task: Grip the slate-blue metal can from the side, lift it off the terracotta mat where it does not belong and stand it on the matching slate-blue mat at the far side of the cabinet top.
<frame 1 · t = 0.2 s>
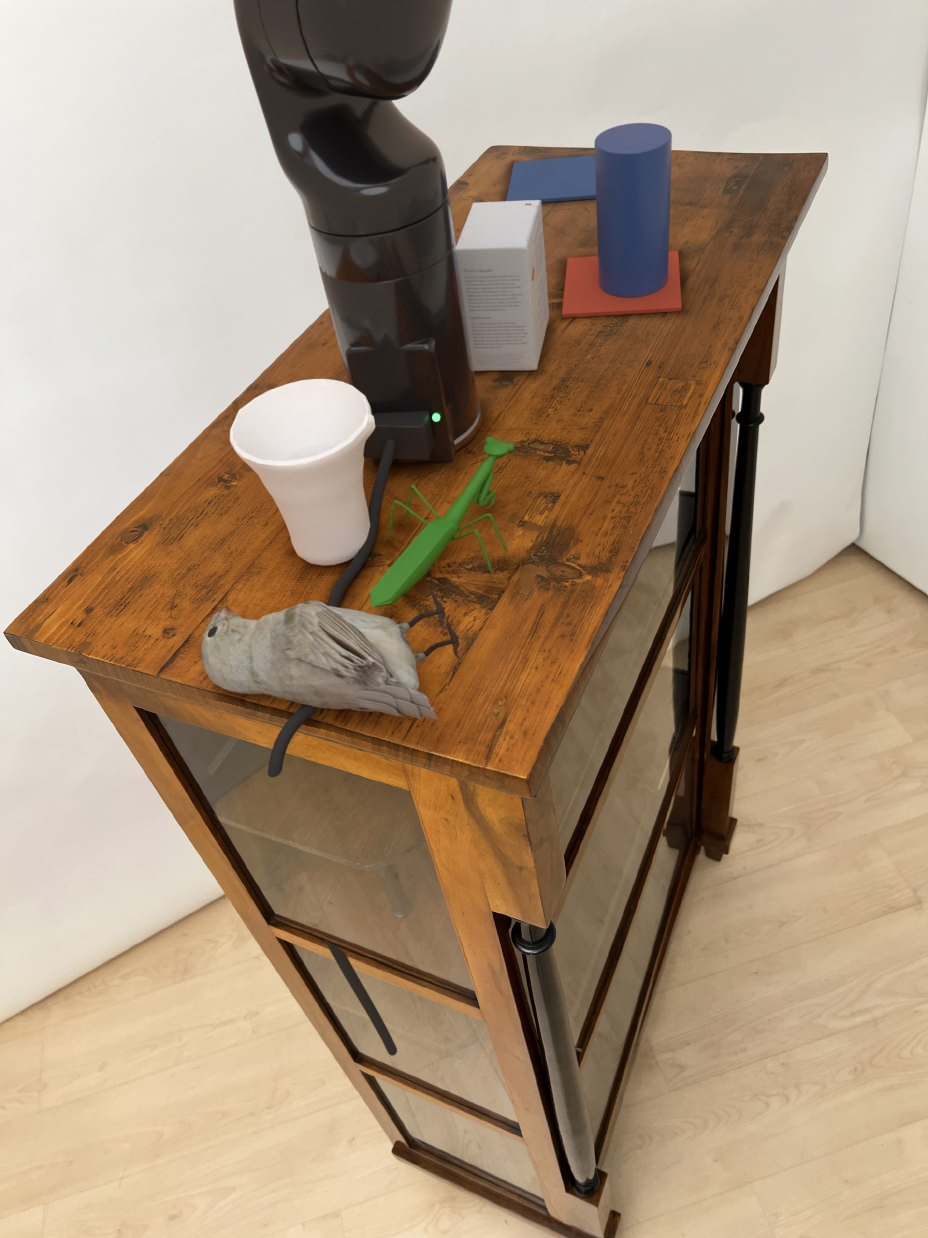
small box: (511, 347, 79), on the cabinet
decorative bird: (451, 614, 53), point 4 cm above the cabinet
praying mantis: (446, 557, 62), on the cabinet
cup: (338, 538, 65), on the cabinet
blue mat: (557, 180, 100), on the cabinet
blue can: (633, 280, 83), resting on terracotta mat
terracotta mat: (621, 285, 83), on the cabinet
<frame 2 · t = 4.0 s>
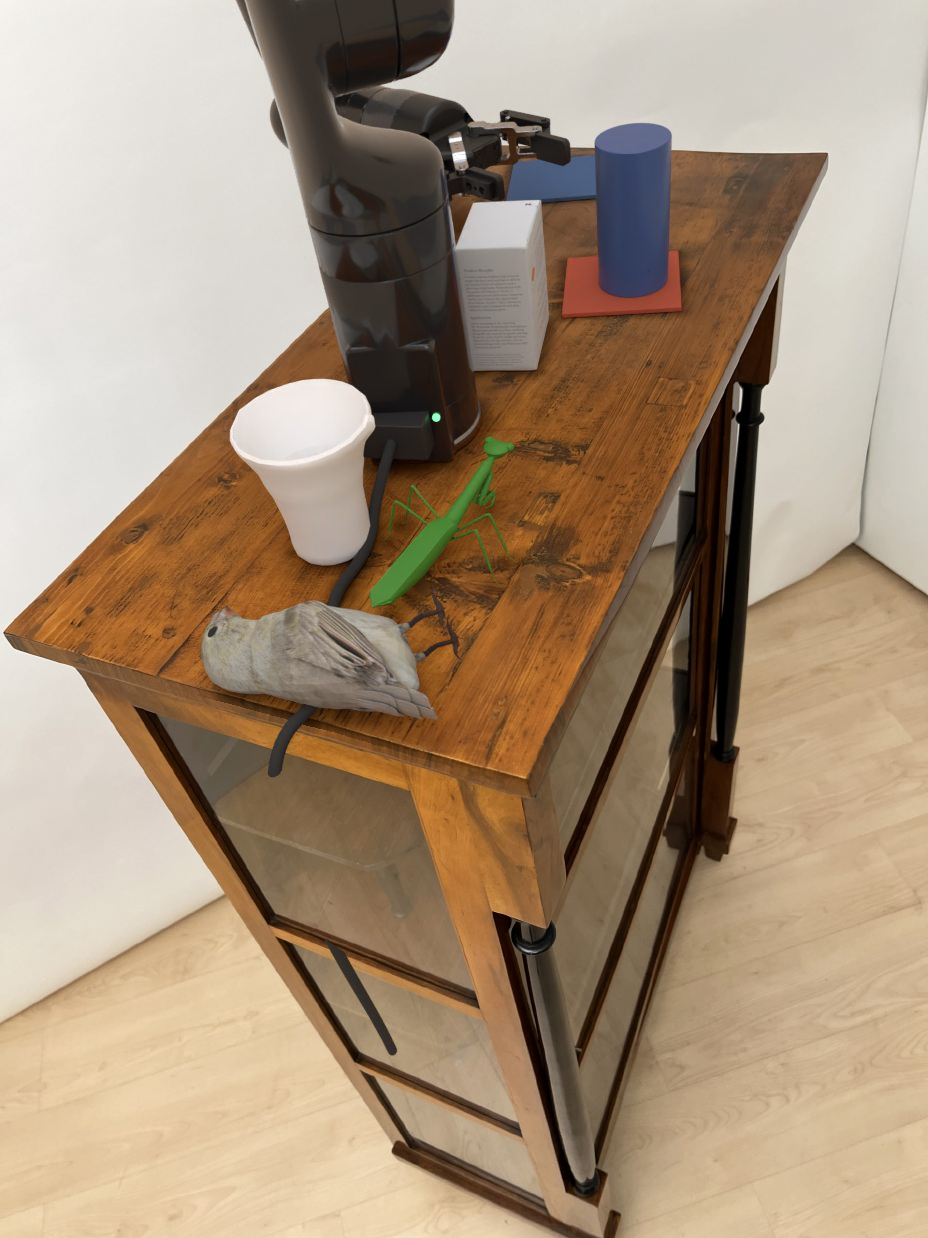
hand: (535, 170, 84), 8 cm above the cabinet, tool horizontal, fingers open, 8 cm apart
nothing on the cabinet moved.
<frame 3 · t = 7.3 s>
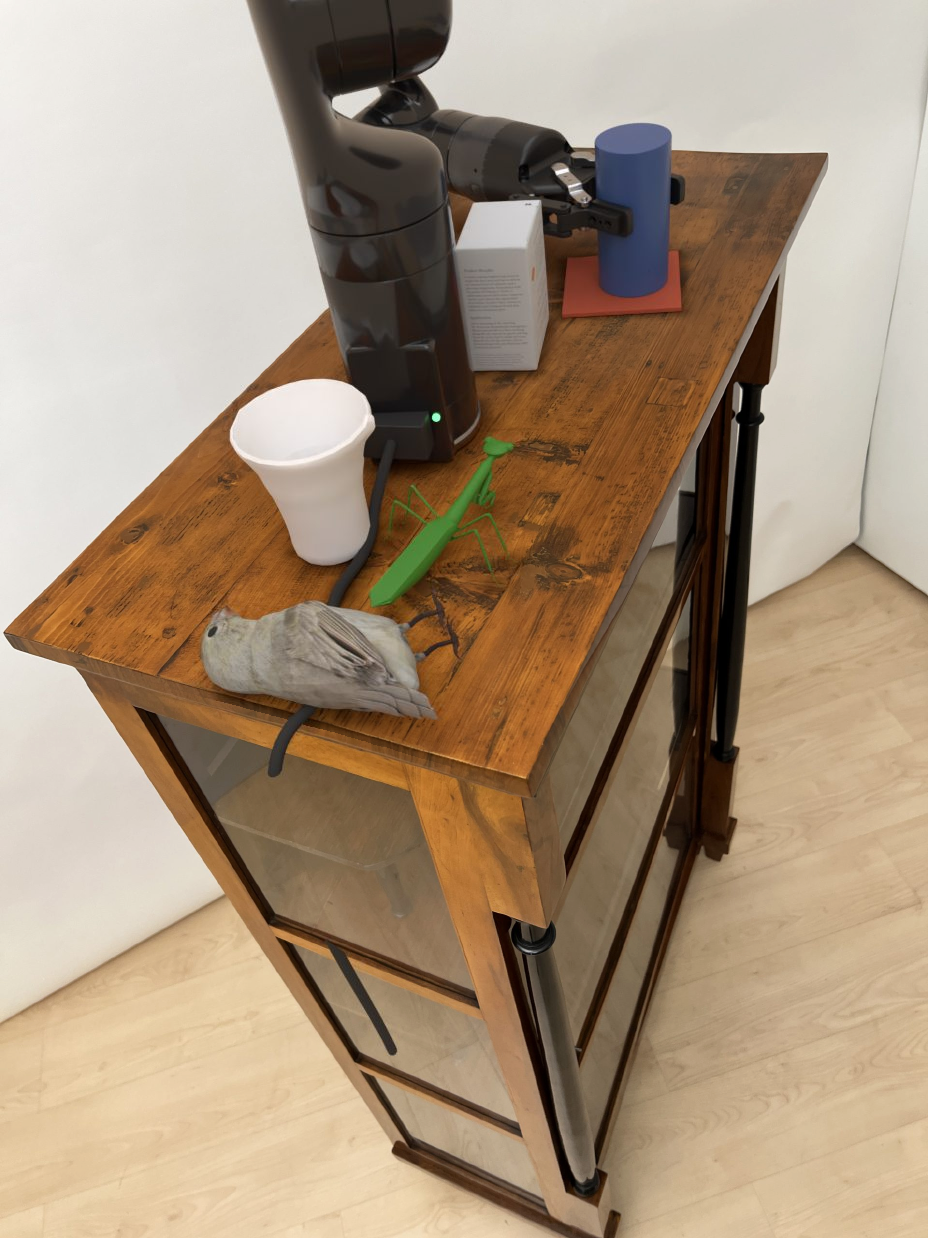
hand: (656, 206, 77), 7 cm above the cabinet, tool horizontal, fingers closed on blue can, 6 cm apart
blue can: (633, 280, 83), resting on terracotta mat, touching gripper
everything else where it was.
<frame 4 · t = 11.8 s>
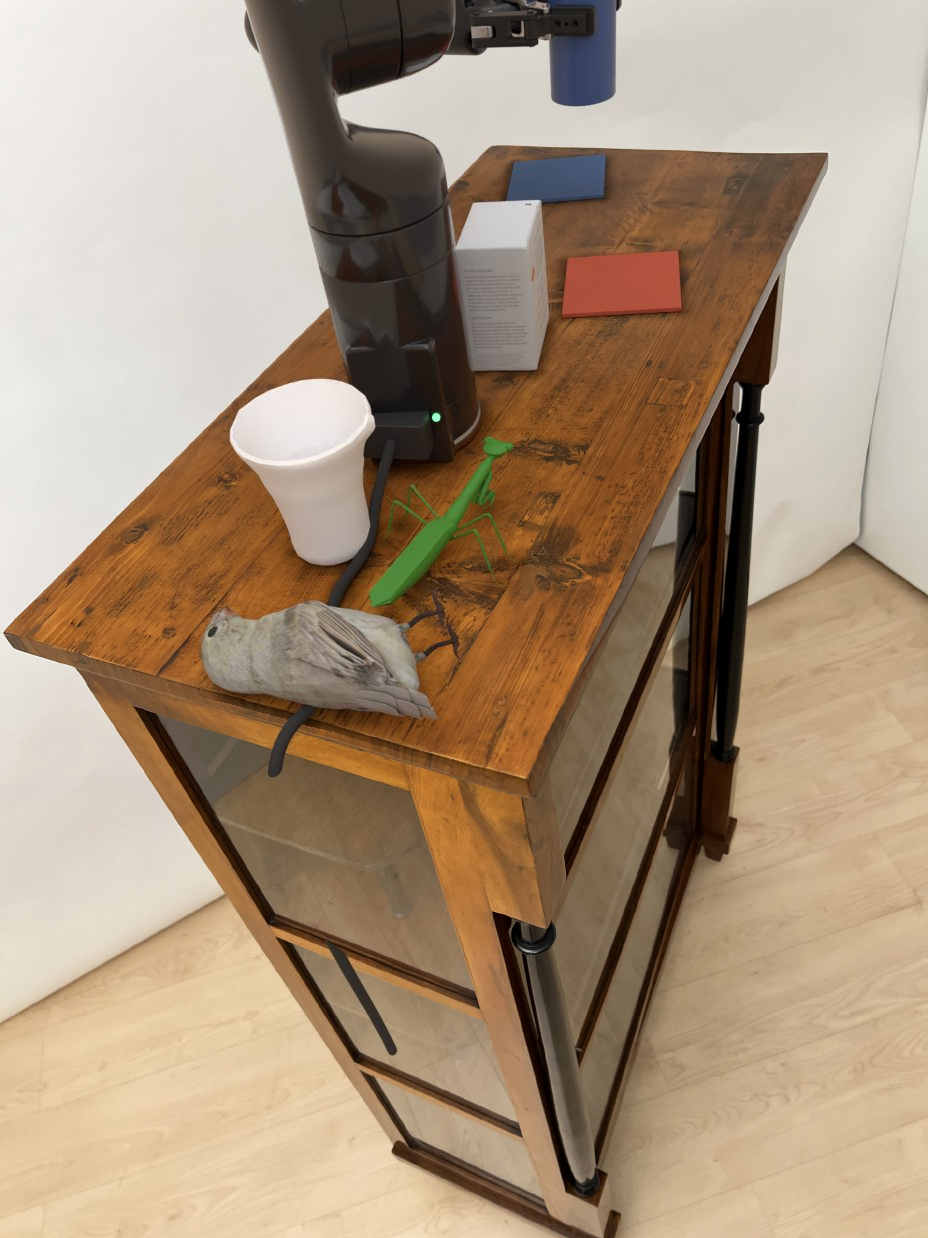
hand: (607, 8, 83), 17 cm above the cabinet, tool horizontal, fingers closed on blue can, 6 cm apart
blue can: (583, 94, 88), point 10 cm above the cabinet, touching gripper
everything else where it was.
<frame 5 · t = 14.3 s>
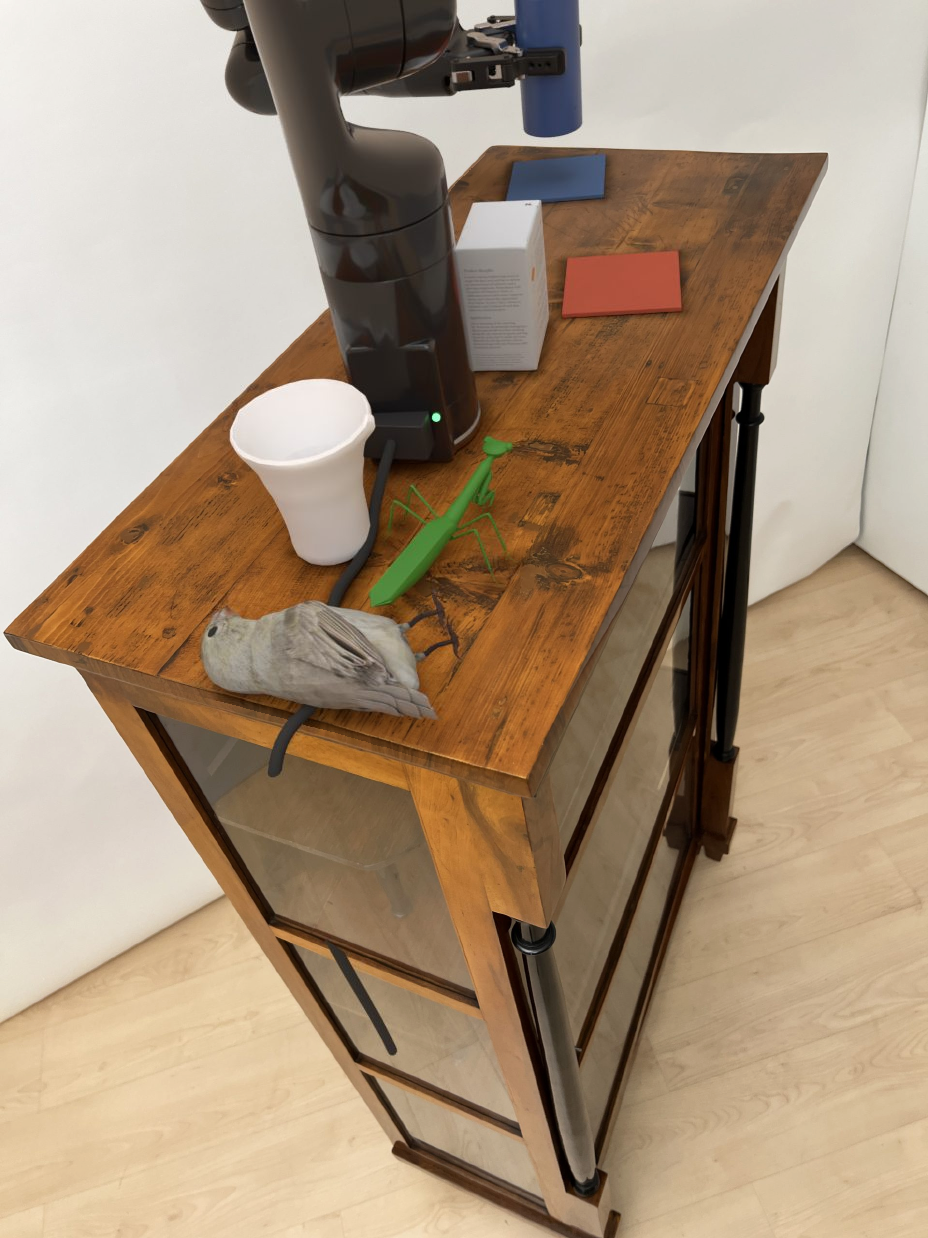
hand: (573, 47, 90), 13 cm above the cabinet, tool horizontal, fingers closed on blue can, 6 cm apart
blue can: (552, 125, 96), point 6 cm above the cabinet, touching gripper
everything else where it was.
when the fingers open (7 cm above the cabinet, at t = 16.3 s): blue can stays where it is, resting on blue mat.
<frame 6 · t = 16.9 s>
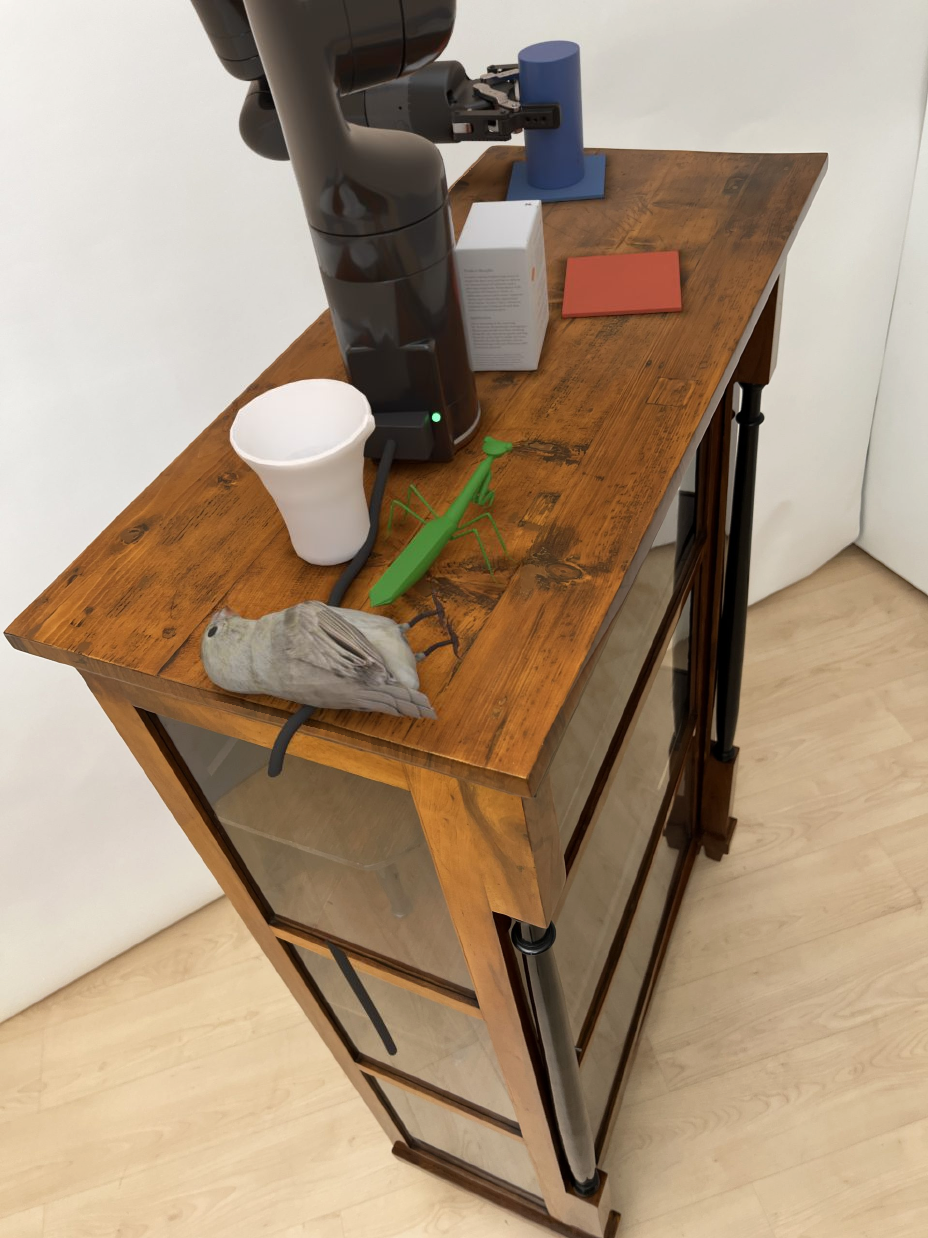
hand: (570, 98, 94), 8 cm above the cabinet, tool horizontal, fingers open, 8 cm apart
blue can: (556, 176, 100), resting on blue mat
everything else where it was.
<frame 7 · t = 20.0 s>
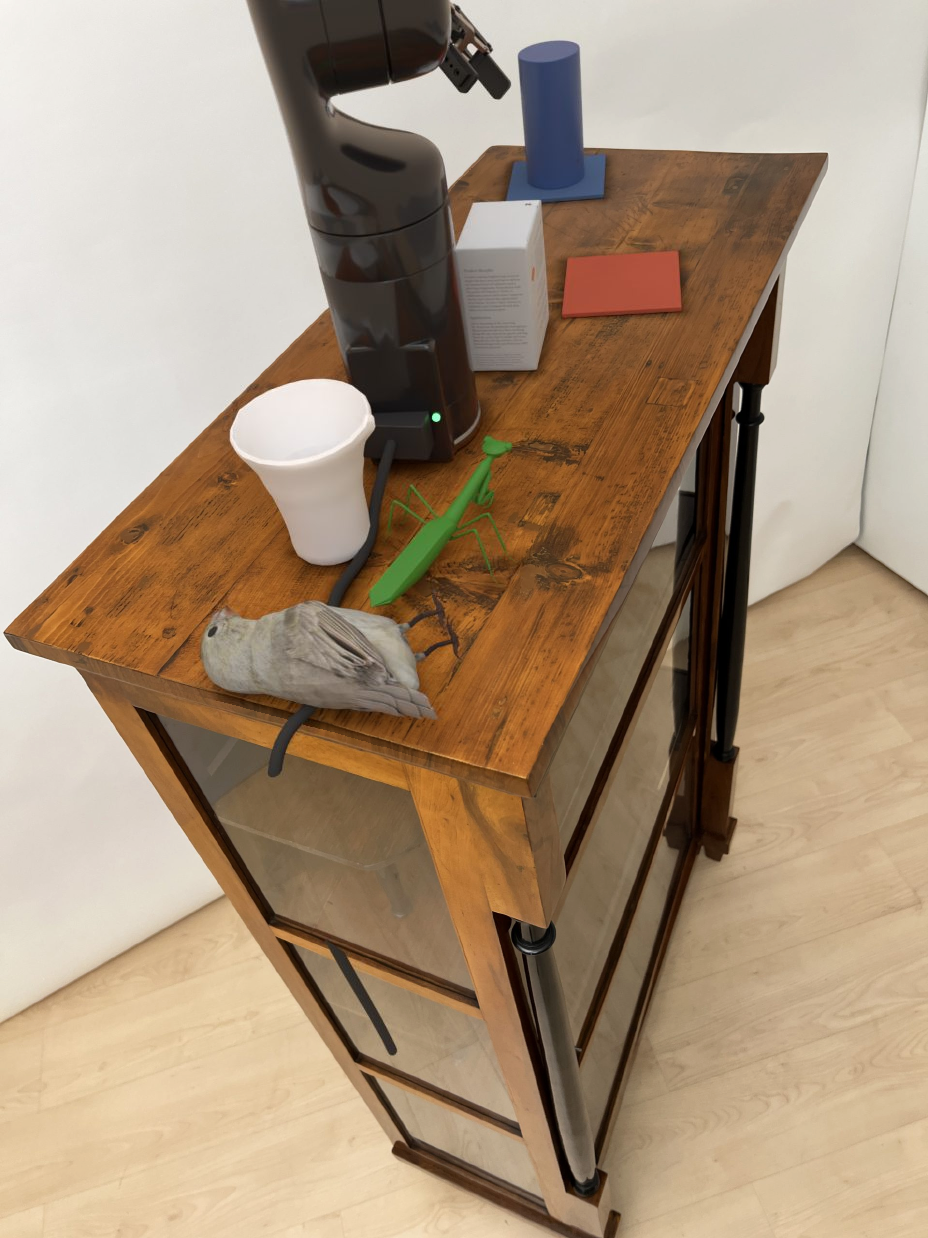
hand: (488, 89, 92), 10 cm above the cabinet, tool tilted 50°, fingers open, 8 cm apart
nothing on the cabinet moved.
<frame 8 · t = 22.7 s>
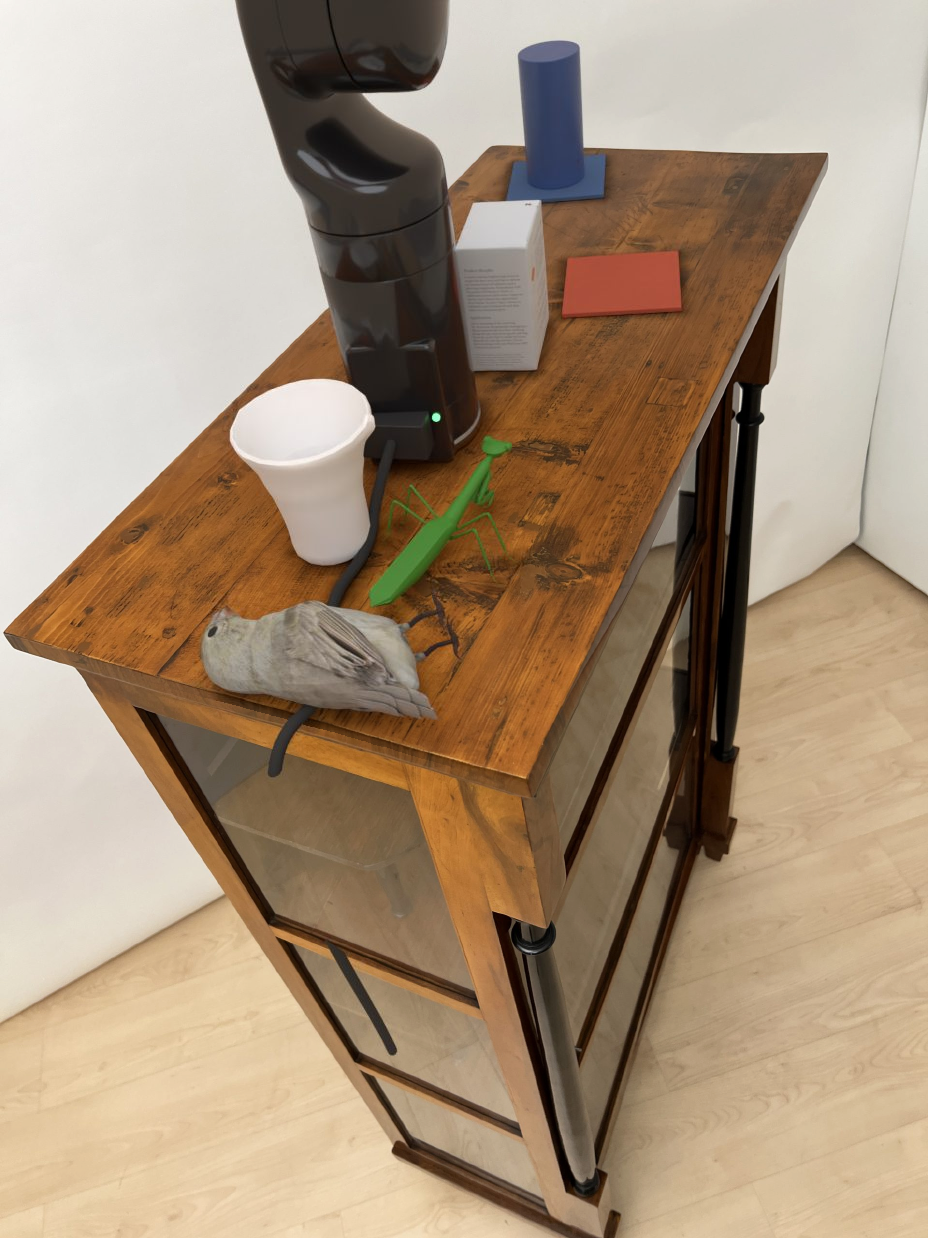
nothing on the cabinet moved.
at the end: blue can inside the target area on the blue mat (0.1 cm from its centre), point 0.4 cm above the blue mat's base; blue can tilted 0°; the gripper is holding nothing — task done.
